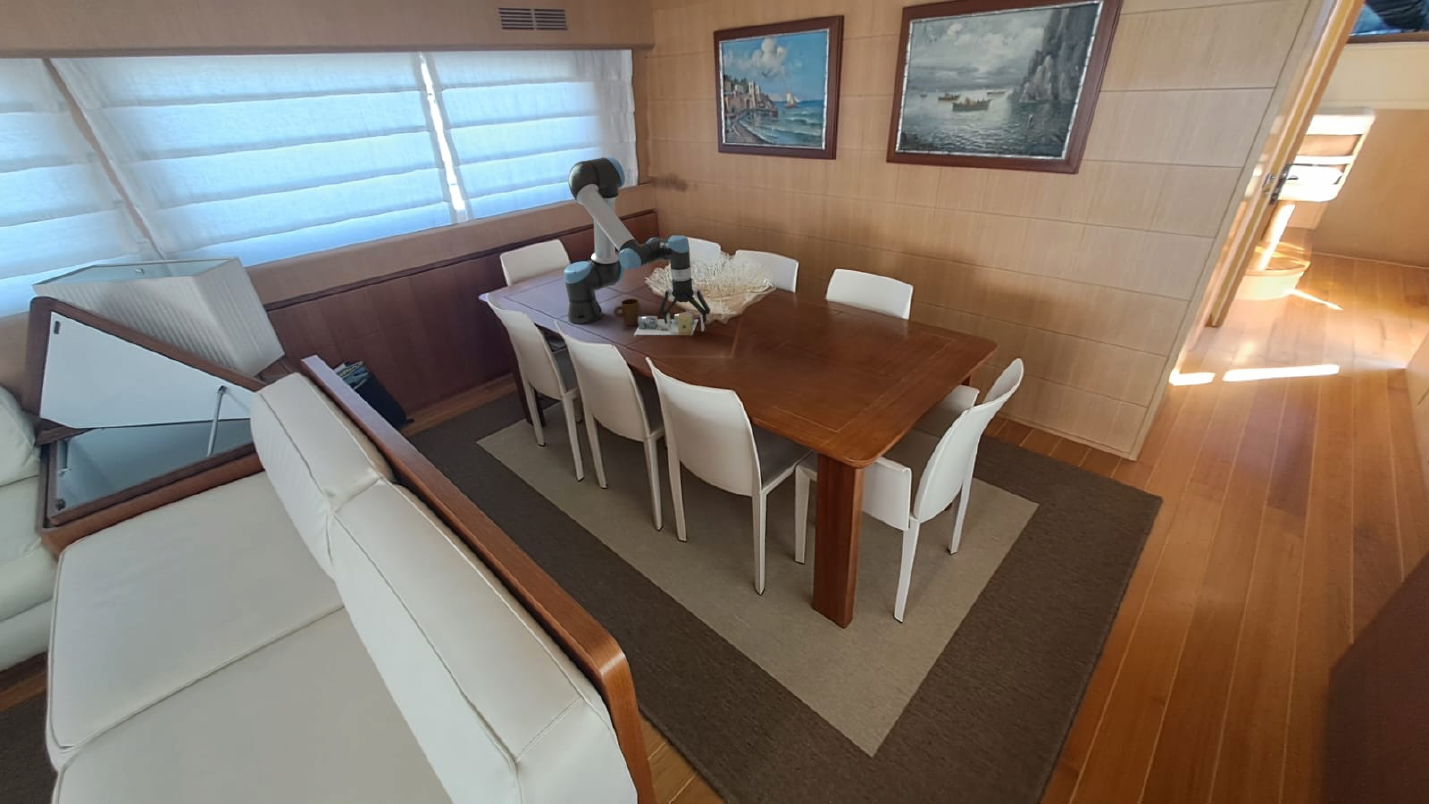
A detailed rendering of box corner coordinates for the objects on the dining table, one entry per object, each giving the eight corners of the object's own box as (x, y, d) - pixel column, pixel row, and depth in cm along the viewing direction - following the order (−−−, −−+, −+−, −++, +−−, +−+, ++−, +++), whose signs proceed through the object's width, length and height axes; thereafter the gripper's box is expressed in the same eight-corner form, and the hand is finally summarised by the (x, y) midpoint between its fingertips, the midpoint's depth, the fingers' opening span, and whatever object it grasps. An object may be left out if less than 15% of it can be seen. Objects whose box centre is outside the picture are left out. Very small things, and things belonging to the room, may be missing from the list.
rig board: (634, 337, 219) (633, 332, 218) (643, 321, 233) (642, 316, 232) (692, 337, 216) (692, 332, 215) (698, 322, 230) (698, 317, 228)
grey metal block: (677, 326, 223) (676, 316, 221) (674, 323, 227) (673, 312, 224) (694, 323, 225) (694, 313, 223) (690, 319, 229) (690, 309, 227)
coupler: (678, 334, 216) (677, 318, 213) (681, 329, 220) (679, 313, 217) (691, 334, 216) (689, 318, 212) (693, 329, 220) (691, 313, 216)
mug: (621, 330, 226) (618, 309, 221) (611, 325, 231) (608, 304, 226) (645, 322, 232) (642, 301, 228) (635, 317, 237) (632, 297, 233)
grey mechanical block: (638, 328, 223) (636, 318, 221) (641, 324, 227) (639, 314, 225) (656, 329, 222) (654, 318, 220) (658, 324, 226) (657, 314, 224)
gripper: (647, 281, 205) (653, 333, 216) (712, 281, 202) (715, 333, 212) (652, 275, 211) (657, 326, 222) (715, 274, 208) (718, 326, 219)
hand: (686, 329), depth 217 cm, fingers open, 13 cm apart
